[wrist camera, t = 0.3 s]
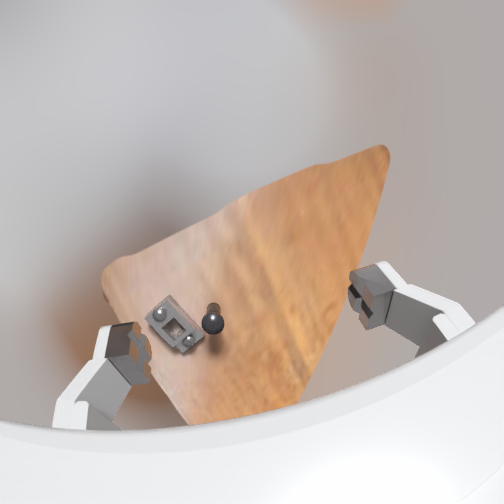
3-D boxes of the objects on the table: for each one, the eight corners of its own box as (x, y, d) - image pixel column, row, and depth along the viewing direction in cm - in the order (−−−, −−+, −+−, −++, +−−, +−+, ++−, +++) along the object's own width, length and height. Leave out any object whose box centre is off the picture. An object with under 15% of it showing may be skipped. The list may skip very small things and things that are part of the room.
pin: (227, 309, 64) (228, 325, 54) (212, 321, 63) (212, 338, 54) (214, 295, 63) (213, 309, 53) (200, 307, 63) (196, 322, 53)
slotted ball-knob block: (204, 332, 63) (203, 341, 59) (183, 349, 63) (181, 358, 58) (169, 294, 62) (165, 300, 57) (148, 312, 61) (143, 319, 57)
